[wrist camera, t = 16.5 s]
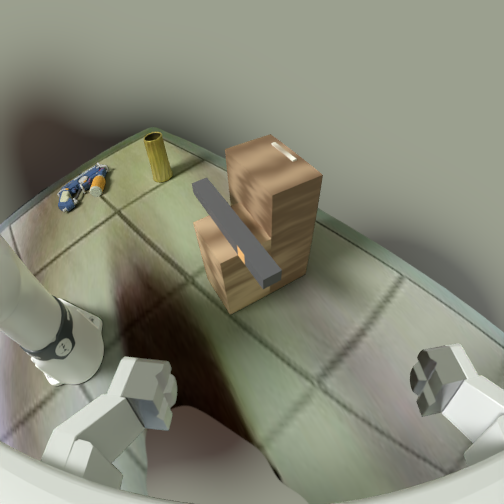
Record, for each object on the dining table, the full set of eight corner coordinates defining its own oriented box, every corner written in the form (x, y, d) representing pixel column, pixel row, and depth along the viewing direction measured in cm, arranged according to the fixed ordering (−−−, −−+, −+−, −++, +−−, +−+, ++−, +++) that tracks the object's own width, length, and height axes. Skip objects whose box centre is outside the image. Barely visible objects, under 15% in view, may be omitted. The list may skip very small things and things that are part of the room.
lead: (281, 279, 43) (282, 270, 41) (262, 289, 42) (262, 280, 40) (208, 187, 56) (206, 177, 54) (193, 193, 55) (191, 183, 53)
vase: (152, 184, 85) (140, 144, 73) (154, 172, 88) (143, 133, 77) (172, 180, 85) (162, 139, 74) (173, 168, 89) (164, 129, 78)
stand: (305, 274, 64) (323, 173, 43) (230, 314, 59) (211, 219, 38) (269, 231, 71) (270, 133, 51) (199, 265, 66) (174, 166, 45)
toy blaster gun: (121, 184, 86) (105, 167, 93) (117, 173, 83) (101, 158, 90) (66, 222, 78) (56, 200, 85) (60, 212, 75) (50, 191, 82)
